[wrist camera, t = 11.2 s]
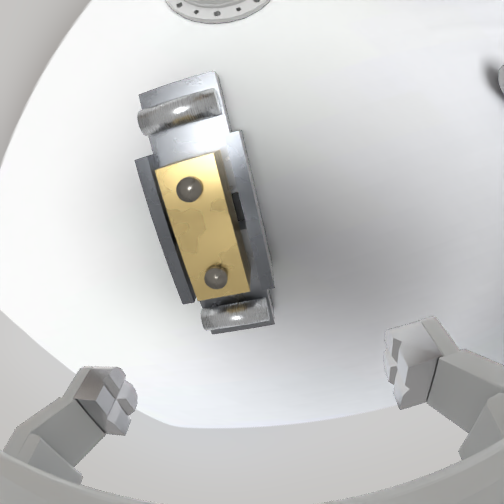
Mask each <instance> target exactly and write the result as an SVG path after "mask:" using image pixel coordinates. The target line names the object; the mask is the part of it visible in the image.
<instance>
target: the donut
mask: <svg viewBox="0 0 504 504" xmlns="http://www.w3.org/2000/svg"><path fill="white" fill-rule="evenodd" d="M498 81H499V86H500V88H501V90H502V92H503V94H504V65H503V66H502V67H501V68H500V70H499V76H498Z"/></svg>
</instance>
